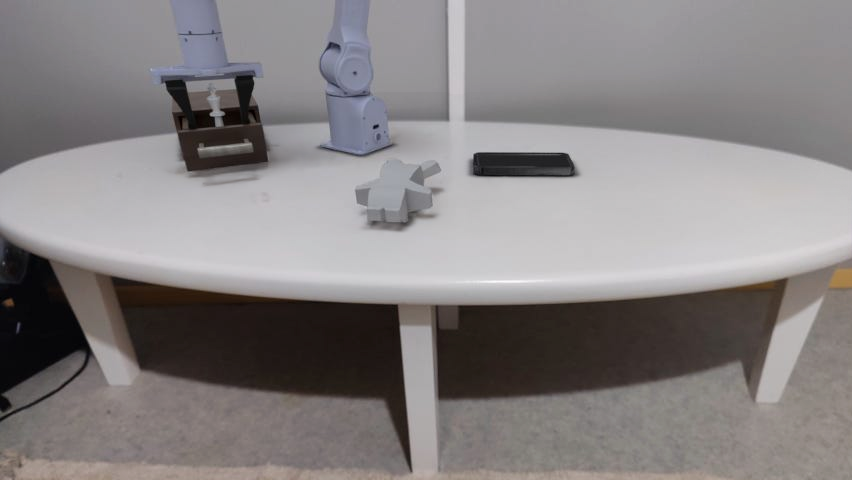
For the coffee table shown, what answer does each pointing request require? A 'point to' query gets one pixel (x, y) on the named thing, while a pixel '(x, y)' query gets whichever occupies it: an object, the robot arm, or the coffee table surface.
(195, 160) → the drawer
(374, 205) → the grey figure-shaped block
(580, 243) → the coffee table surface
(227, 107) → the cabinet
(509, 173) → the phone
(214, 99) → the chess piece
